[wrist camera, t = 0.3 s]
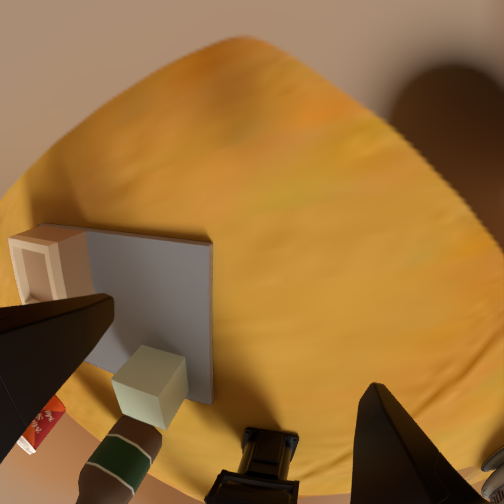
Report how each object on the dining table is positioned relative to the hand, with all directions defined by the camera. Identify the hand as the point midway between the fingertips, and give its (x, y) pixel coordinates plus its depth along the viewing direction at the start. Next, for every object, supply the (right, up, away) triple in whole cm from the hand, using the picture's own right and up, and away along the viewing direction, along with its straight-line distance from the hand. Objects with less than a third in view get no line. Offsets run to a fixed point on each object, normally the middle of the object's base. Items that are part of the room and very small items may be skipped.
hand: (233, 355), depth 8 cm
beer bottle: (-16, -24, +27) cm, 39 cm away
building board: (-14, -3, +19) cm, 24 cm away
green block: (-9, -9, +19) cm, 23 cm away
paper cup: (-39, -27, +33) cm, 57 cm away
